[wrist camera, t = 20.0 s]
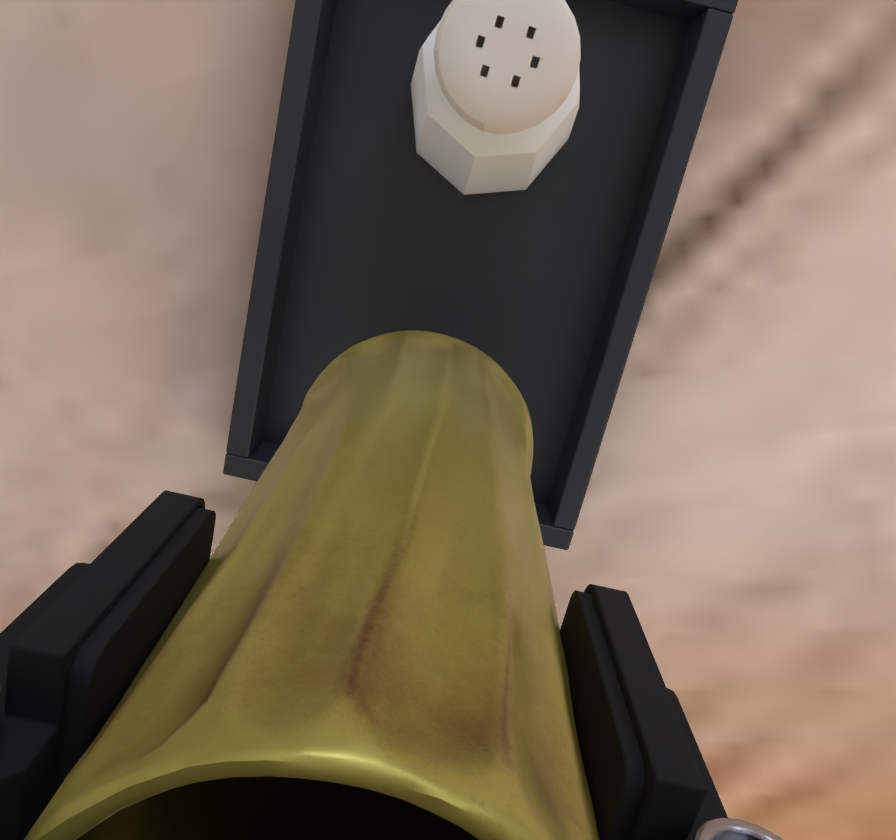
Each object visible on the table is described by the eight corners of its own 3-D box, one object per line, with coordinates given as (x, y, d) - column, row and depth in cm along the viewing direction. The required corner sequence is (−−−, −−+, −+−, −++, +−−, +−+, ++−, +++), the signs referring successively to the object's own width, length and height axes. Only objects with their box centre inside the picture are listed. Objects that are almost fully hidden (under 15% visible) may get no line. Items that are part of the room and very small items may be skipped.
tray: (330, -96, 23) (314, -129, 21) (716, 4, 24) (743, -17, 22) (242, 451, 29) (222, 474, 26) (559, 522, 29) (568, 551, 27)
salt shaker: (387, 168, 25) (330, 150, 15) (436, -4, 24) (412, -163, 13) (539, 220, 26) (590, 239, 15) (597, 53, 24) (700, -55, 13)
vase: (309, 554, 21) (-2, 1273, 7) (286, 332, 19) (-193, 704, 5) (533, 548, 20) (673, 1275, 7) (531, 323, 19) (715, 684, 5)
